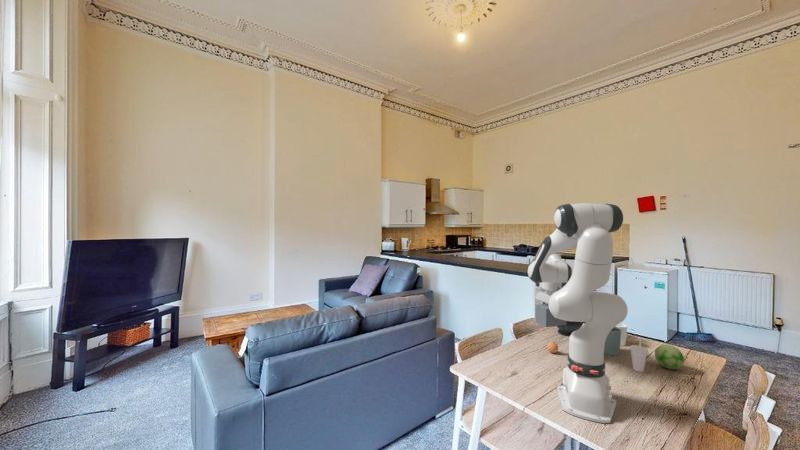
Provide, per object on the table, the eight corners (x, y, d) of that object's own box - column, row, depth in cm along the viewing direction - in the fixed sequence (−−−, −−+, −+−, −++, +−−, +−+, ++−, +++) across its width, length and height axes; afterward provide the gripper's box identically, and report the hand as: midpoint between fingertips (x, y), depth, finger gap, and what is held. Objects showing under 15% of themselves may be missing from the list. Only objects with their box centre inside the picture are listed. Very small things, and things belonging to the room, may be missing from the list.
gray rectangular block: (546, 327, 148) (546, 309, 148) (535, 322, 155) (535, 304, 155) (566, 324, 151) (566, 306, 151) (555, 320, 158) (555, 302, 158)
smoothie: (651, 374, 132) (651, 341, 132) (634, 372, 134) (634, 340, 133) (642, 367, 139) (642, 335, 138) (626, 365, 140) (626, 334, 140)
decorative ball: (653, 368, 138) (653, 345, 137) (656, 360, 145) (656, 339, 145) (683, 376, 131) (683, 352, 131) (684, 368, 138) (685, 345, 138)
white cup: (605, 341, 168) (605, 322, 168) (616, 339, 170) (616, 321, 170) (619, 347, 160) (619, 327, 160) (630, 345, 163) (630, 326, 163)
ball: (559, 345, 150) (556, 355, 150) (559, 344, 155) (556, 354, 154) (548, 340, 153) (545, 350, 152) (548, 340, 157) (545, 349, 157)
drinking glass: (621, 357, 148) (622, 332, 148) (596, 352, 153) (596, 328, 153) (620, 350, 157) (620, 326, 156) (596, 345, 162) (596, 322, 162)
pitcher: (558, 326, 192) (559, 277, 191) (596, 335, 176) (597, 282, 175) (545, 332, 181) (546, 281, 180) (584, 343, 165) (585, 287, 164)
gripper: (573, 289, 144) (573, 319, 144) (542, 280, 163) (542, 307, 164) (562, 290, 142) (562, 320, 142) (532, 281, 162) (532, 308, 162)
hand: (551, 313), depth 153 cm, fingers closed on gray rectangular block, 7 cm apart
